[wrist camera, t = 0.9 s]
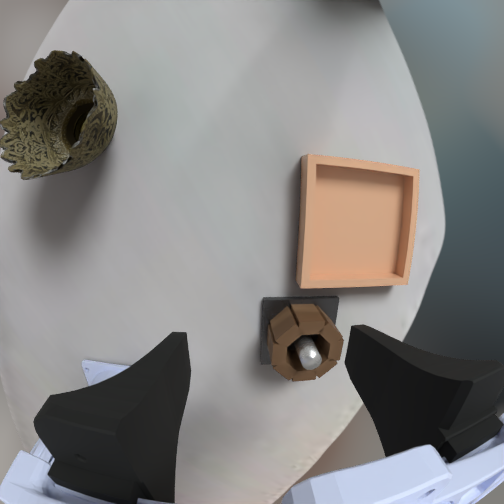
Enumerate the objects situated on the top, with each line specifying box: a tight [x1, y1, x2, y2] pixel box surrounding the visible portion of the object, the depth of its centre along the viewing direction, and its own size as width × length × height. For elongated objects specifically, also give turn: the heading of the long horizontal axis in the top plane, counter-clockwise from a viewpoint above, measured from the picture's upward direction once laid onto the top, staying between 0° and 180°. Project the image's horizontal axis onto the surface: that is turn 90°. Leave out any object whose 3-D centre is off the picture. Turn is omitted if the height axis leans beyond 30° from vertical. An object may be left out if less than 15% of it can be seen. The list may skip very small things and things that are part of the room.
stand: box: [261, 296, 339, 370], centre depth 20 cm, size 6×6×5 cm
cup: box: [0, 50, 117, 180], centre depth 14 cm, size 8×7×8 cm
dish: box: [295, 154, 419, 288], centre depth 20 cm, size 9×9×2 cm
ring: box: [267, 304, 344, 381], centre depth 20 cm, size 5×5×3 cm
